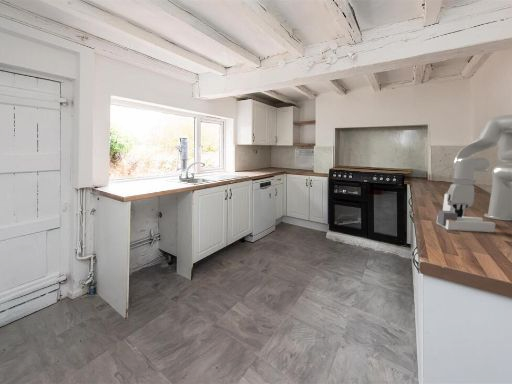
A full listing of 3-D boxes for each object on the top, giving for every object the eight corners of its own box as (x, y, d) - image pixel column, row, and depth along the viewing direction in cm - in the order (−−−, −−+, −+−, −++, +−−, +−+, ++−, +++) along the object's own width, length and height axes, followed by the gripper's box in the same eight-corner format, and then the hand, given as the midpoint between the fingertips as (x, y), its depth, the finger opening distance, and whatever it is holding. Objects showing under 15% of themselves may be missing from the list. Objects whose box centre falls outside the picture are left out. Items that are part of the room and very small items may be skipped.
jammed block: (449, 223, 129) (451, 210, 128) (455, 226, 124) (457, 213, 123) (437, 222, 131) (438, 210, 130) (442, 225, 125) (444, 213, 124)
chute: (478, 225, 129) (479, 216, 128) (494, 232, 118) (496, 222, 117) (436, 223, 134) (437, 214, 133) (448, 229, 122) (449, 220, 121)
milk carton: (462, 222, 134) (467, 189, 131) (448, 222, 135) (452, 189, 132) (455, 219, 141) (459, 187, 137) (441, 218, 142) (445, 187, 139)
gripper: (475, 181, 124) (470, 215, 127) (442, 181, 127) (438, 214, 131) (485, 183, 117) (479, 219, 120) (450, 182, 120) (445, 217, 123)
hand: (458, 216), depth 125 cm, fingers closed
